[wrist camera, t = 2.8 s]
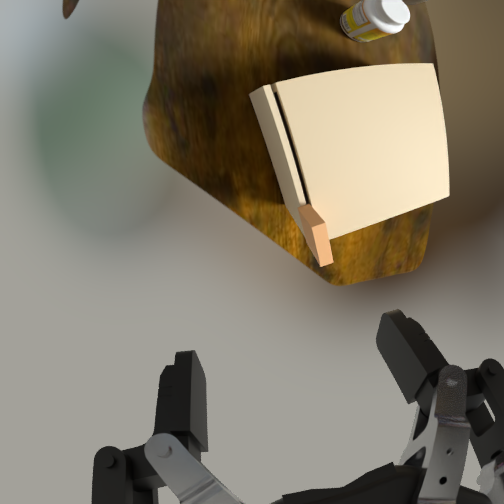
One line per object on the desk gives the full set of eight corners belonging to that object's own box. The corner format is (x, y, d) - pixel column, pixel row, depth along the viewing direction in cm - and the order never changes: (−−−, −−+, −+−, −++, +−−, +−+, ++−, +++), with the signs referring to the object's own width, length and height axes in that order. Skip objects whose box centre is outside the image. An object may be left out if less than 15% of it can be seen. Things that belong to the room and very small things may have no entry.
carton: (377, 68, 28) (432, 63, 18) (398, 169, 36) (449, 196, 26) (256, 91, 29) (275, 82, 19) (292, 202, 37) (320, 242, 27)
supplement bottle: (379, 30, 25) (422, 18, 16) (359, 49, 27) (401, 38, 18) (352, 4, 23) (390, -18, 14) (330, 22, 25) (366, 0, 16)
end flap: (255, 92, 29) (285, 77, 15) (291, 203, 37) (334, 266, 23) (246, 94, 29) (268, 81, 15) (283, 206, 37) (321, 271, 23)
